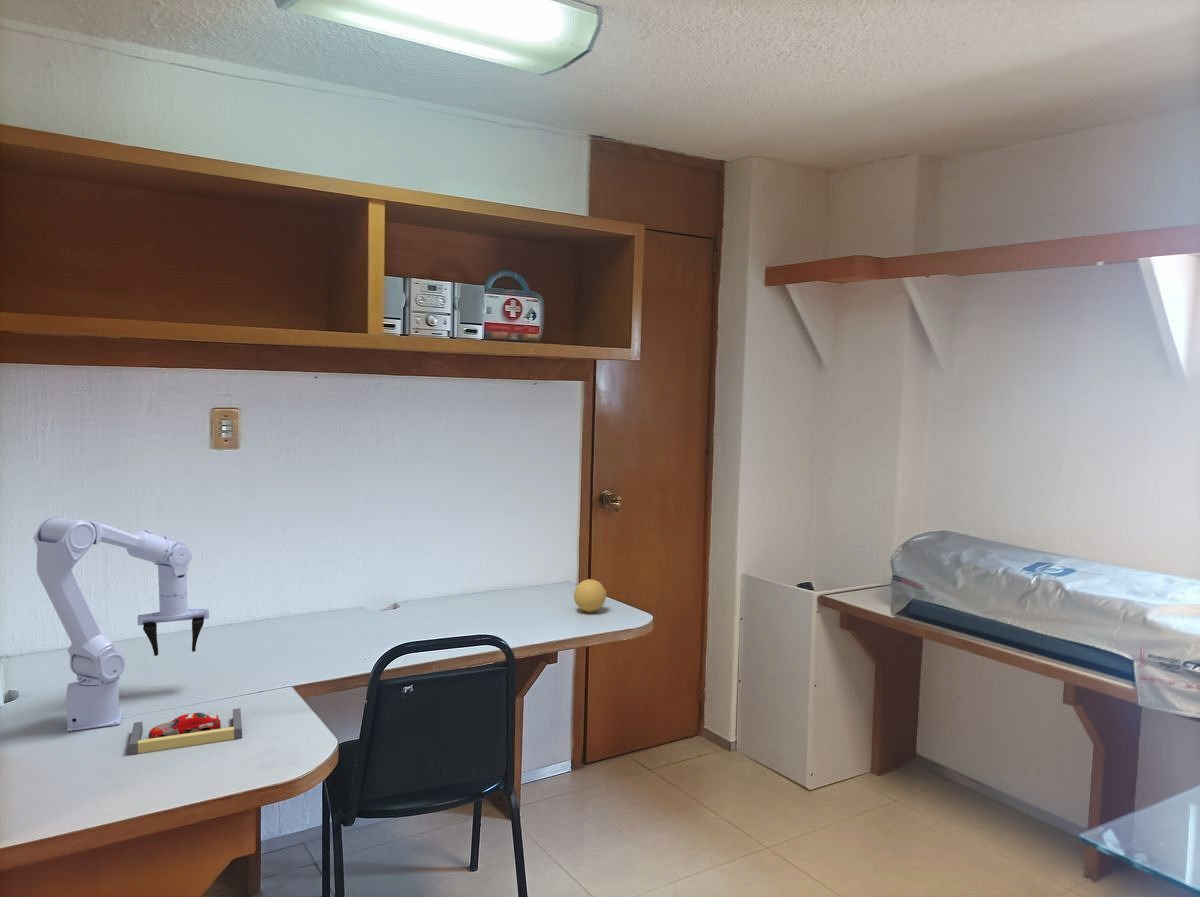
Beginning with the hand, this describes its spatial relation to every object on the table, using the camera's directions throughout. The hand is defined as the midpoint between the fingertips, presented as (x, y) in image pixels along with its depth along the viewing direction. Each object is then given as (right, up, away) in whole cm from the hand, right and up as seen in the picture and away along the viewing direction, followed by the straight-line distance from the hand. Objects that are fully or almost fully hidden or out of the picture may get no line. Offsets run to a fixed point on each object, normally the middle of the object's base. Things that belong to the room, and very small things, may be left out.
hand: (175, 652), depth 200 cm
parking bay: (+14, -12, -23) cm, 29 cm away
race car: (+13, -12, -22) cm, 28 cm away
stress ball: (+94, -4, +71) cm, 118 cm away
